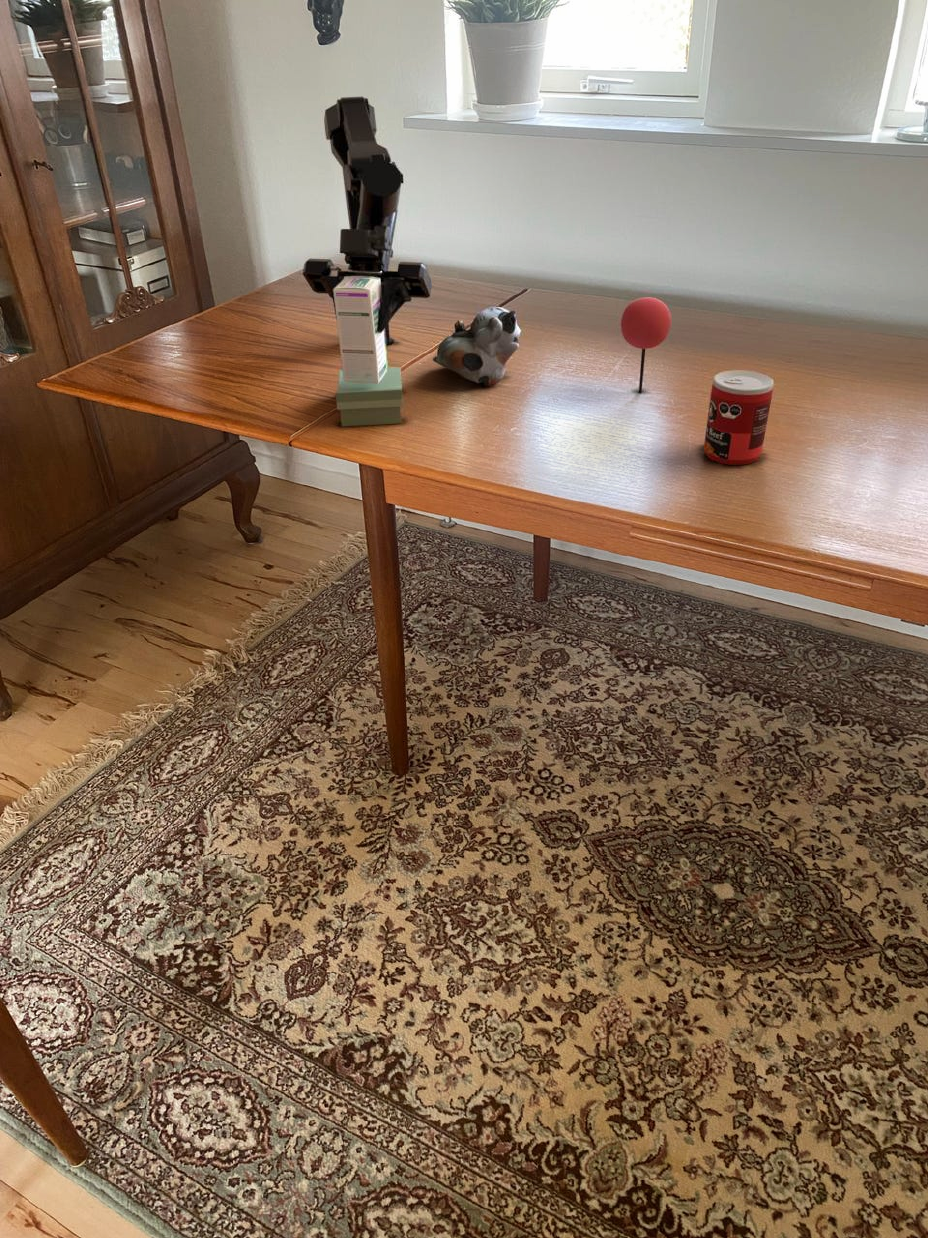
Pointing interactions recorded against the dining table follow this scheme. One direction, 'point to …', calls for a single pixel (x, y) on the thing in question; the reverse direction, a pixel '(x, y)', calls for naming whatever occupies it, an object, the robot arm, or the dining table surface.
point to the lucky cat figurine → (481, 346)
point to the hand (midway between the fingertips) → (359, 330)
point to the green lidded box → (371, 400)
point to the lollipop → (645, 325)
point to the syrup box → (360, 329)
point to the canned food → (737, 416)
